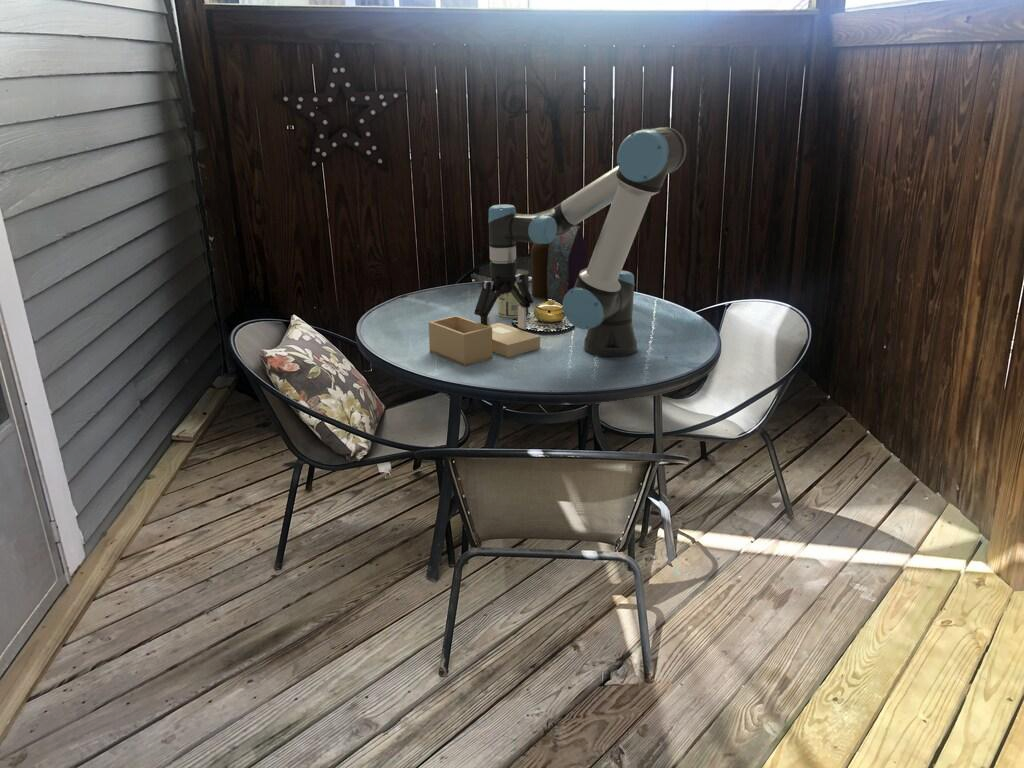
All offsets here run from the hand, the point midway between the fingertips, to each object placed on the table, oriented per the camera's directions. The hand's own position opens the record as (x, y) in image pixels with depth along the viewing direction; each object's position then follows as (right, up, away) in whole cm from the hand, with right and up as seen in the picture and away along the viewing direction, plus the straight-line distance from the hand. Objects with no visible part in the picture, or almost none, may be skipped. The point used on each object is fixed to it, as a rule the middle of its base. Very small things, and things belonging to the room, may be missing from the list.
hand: (504, 333), depth 244 cm
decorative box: (+21, +12, +43) cm, 49 cm away
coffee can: (+2, +8, +33) cm, 34 cm away
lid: (0, -3, +2) cm, 4 cm away
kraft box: (-12, -7, -7) cm, 16 cm away
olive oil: (+14, +17, +56) cm, 60 cm away
